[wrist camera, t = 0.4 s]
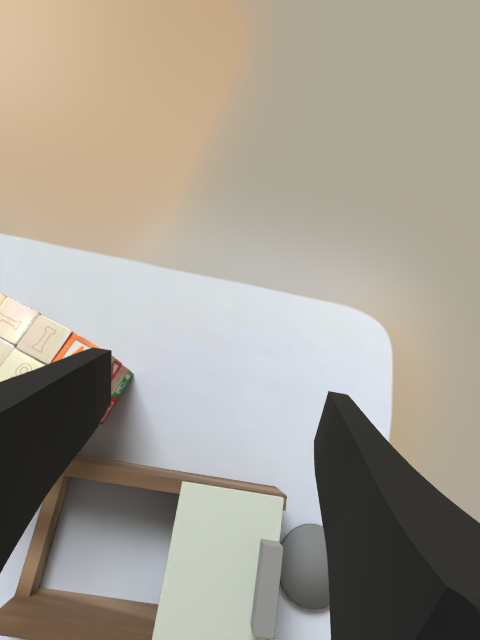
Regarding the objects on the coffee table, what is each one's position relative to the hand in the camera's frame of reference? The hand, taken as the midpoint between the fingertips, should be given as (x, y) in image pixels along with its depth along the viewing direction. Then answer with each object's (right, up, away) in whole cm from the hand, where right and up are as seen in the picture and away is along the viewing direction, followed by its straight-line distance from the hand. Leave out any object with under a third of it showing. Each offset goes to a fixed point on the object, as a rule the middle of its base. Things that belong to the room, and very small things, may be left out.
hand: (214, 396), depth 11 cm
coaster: (+8, -22, +24) cm, 33 cm away
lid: (-1, -18, +18) cm, 26 cm away
